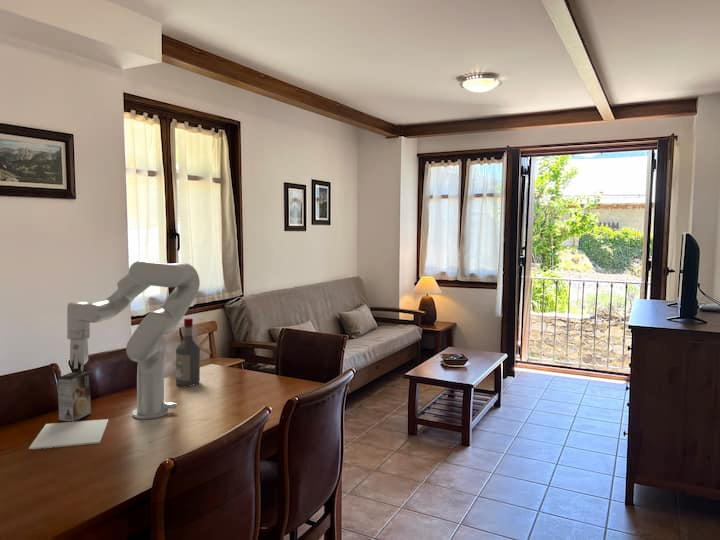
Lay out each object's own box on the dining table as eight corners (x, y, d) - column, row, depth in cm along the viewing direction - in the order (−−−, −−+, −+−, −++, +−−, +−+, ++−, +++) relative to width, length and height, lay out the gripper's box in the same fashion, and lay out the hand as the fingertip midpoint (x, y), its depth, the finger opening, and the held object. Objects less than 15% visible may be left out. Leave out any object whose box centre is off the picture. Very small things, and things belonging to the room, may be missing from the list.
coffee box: (76, 411, 199) (75, 370, 197) (91, 413, 197) (90, 371, 196) (58, 420, 190) (57, 377, 188) (73, 422, 188) (72, 378, 187)
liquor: (186, 387, 235) (186, 321, 233) (173, 384, 240) (173, 319, 238) (202, 383, 243) (203, 319, 241) (189, 379, 248) (190, 317, 246)
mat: (108, 420, 191) (108, 419, 191) (99, 443, 170) (99, 441, 170) (45, 425, 184) (45, 423, 184) (28, 449, 163) (28, 447, 163)
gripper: (86, 337, 193) (85, 386, 194) (92, 330, 207) (92, 376, 208) (63, 338, 191) (63, 387, 192) (71, 330, 205) (71, 377, 206)
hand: (78, 381), depth 200 cm, fingers closed
